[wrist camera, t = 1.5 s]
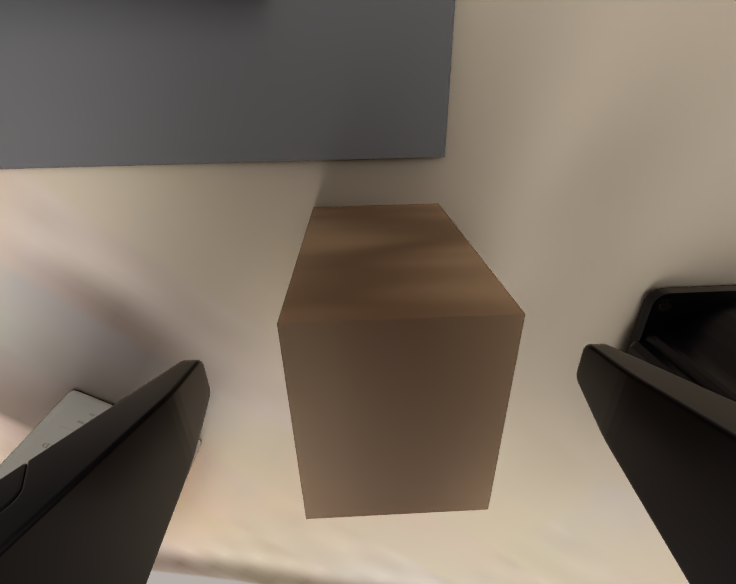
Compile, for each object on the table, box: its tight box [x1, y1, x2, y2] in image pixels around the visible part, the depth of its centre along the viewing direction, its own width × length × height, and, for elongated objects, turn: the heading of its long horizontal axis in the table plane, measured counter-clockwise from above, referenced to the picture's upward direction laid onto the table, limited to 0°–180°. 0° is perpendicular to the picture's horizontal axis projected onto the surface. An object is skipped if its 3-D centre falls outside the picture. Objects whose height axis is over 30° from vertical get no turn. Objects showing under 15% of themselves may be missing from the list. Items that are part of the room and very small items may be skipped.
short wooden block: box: [277, 204, 525, 519], centre depth 11 cm, size 4×5×7 cm
